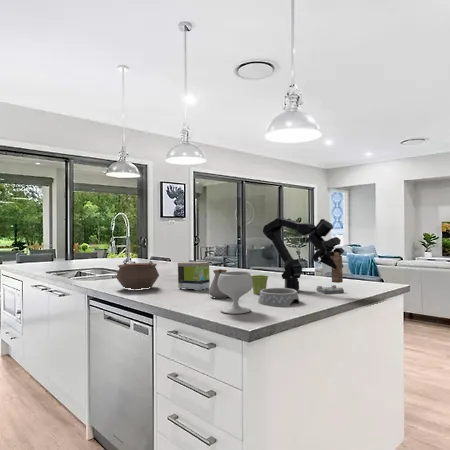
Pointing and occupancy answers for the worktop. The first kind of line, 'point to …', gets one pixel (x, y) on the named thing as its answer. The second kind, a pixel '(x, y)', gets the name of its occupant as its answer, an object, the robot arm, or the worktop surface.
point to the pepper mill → (337, 273)
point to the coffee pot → (214, 288)
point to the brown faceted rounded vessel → (137, 275)
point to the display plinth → (330, 289)
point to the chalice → (235, 289)
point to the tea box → (193, 275)
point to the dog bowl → (278, 296)
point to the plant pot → (259, 283)
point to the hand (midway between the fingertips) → (339, 267)
